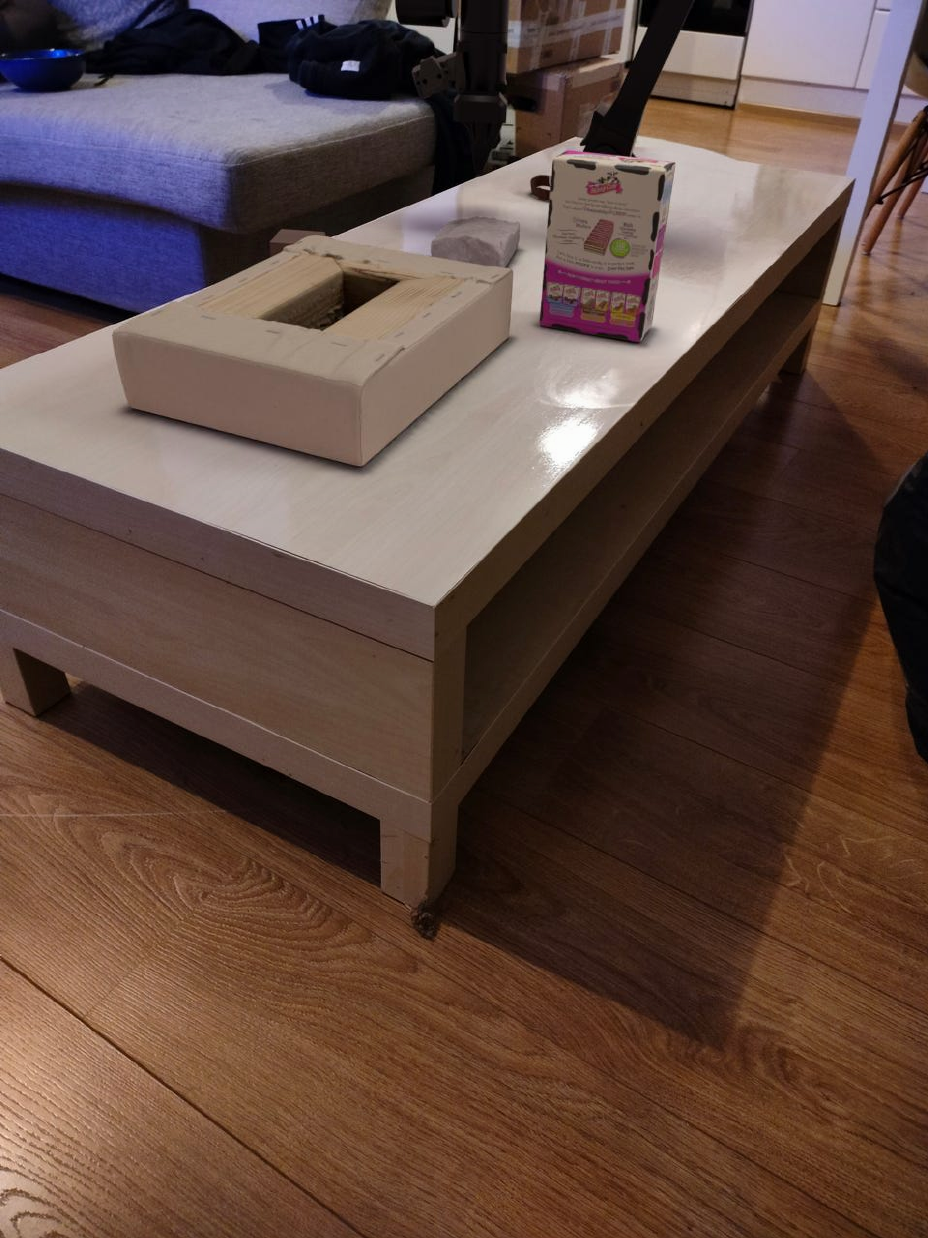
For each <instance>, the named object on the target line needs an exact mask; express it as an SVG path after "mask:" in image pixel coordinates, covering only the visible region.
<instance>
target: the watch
mask: <svg viewBox="0 0 928 1238" xmlns="http://www.w3.org/2000/svg"><path fill="white" fill-rule="evenodd" d="M529 184H530V185H529V186H530V194H531V195H532V196H533V197H535V198H537V199H539V200H542V201H548V202H549V199H550V189H546V188H543V187H548V188H550V186H551V174H550V175H547V174H538V175H535V176H532V177H531V178H530V180H529Z"/></svg>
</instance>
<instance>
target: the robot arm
mask: <svg viewBox="0 0 928 1238" xmlns="http://www.w3.org/2000/svg"><path fill="white" fill-rule="evenodd" d="M510 1H511V0H394V7H395V14H396V19H397V22H398V24H399V25H401V26H412V27H413V26H414V27H426V28H427V27H428V28H441V29H442V28H443V29H446V28H447V27H449V24H450V21H451V19H457V17H458V13H459V9H460V19H459V20H460V21H459V22H460V23H459V24H460V25H459V39H458V40H457V43H456V46H455V47H456V49H455V51H454V52H451V53H448V54H444V55H442V56H440V57H439V56H438V57H437V58H436V57H435V56H434V55H431V56H430V57H428V58H425V59H424V58H423V59H421V60H420V62H419V63H420V64H418V65H416V66H414V67H413V68H412V70H411V75H412V78H413V81H414V86H415V88H416V91H417V94H418V97H419V100H425V99H427V98H428V99H429V98H431V96H432V95H433V94H437V93H439V92H442V91H444V90H447V89H450V88H452V87H455V88H454V92H457V95H456V96H455V97H454V101H453V116H452V117H453V122H457V123H461V124H462V125H463V126H464V127H465V128H466V130H467V133H468V139H469V146H470V153H471V157H472V158H471V159H472V167H473V171H474V173H483V172H484V170H485V167H486V165H487V163H488V160H489V159H490V158H489V157H490V155H491V153H492V150H493V148H494V146H495V143H496V140H497V139H498V137H499V134H500V131H501V129H502V126H503V125H504V124H507V114H508V113H507V112H508V99H507V85H508V84H507V78H506V77H507V58H508V44H509V43H508V42H509V40H508V39H509V23H510V21H509V19H510V3H511V2H510ZM694 2H695V0H658V3H657V5H656V8H655V10H654V12H653V14H652V16H651V18H650V21H649V23H648V25H647V28H646V30H645V32H644V35H643V37H642V38H641V41H640V44H639V45H638V49H637V51H636V53H635V55H634V58H633V59H632V62H631V63H630V66H629V69H628V71H627V73H626V76H625V78H624V79H623V81H622V84H621V86H620V89H619V91H618V94H617V96H616V97H615V99H614V100H613V102H612V104H611V105H610V107H607V106H606V104H605V105H604V104H603V103H602V102H600V103H598V105H597V107H596V108H595V110H594V111H593V115H592V116H591V120H590V125H589V128H588V131H587V132H586V133H585V135H583V138H582V140H581V141H580V142H579V146H580V147H583V149H582V152H589V153H598V154H607V155H617V156H626V157H636V158H638V157H637V156H636V155H635V154H634V150H635V146H636V143H637V140H638V136H639V132H640V129H641V126H642V121H643V118H644V113H645V110H646V106H647V104H648V103H649V102H648V101H649V99H650V97H651V95H652V93H653V91H654V89H655V87H656V85H657V82H658V81H659V78H660V76H661V74H662V71H663V70H664V67H665V66H666V65H665V64H666V63H667V60H668V59H669V56H670V55H671V52H672V49H673V48H674V45H675V43H676V41H677V39H678V37H679V35H680V32H681V31H682V28H683V27H684V24H685V22H686V19H687V17H688V15H689V13H690V10H691V9H692V7H693V4H694Z"/></svg>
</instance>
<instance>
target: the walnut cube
mask: <svg viewBox="0 0 928 1238" xmlns="http://www.w3.org/2000/svg"><path fill="white" fill-rule="evenodd" d="M312 235H320V236H326V233H325V231H313V230H312V231H311V230H300V229H299V230H298V229H297V230H296V229H285V228H284V229H283V228H281V229H280V230H279V231H278V232H277V233H276V235H274V237H273V238H271V240H270V241H269V242H268V245H269V256H270V257H269V258H271V257H273V256H275V255H277V254H279V253H281V252H282V251H283V249H284V247H286V246H289V245H293V244H295V243H296V242H298V241H299V240H301V239H302V238H304V237H307V236H312Z"/></svg>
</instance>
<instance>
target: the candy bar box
mask: <svg viewBox="0 0 928 1238" xmlns="http://www.w3.org/2000/svg"><path fill="white" fill-rule="evenodd" d="M636 157H637V156H636ZM636 157H626V156H617V155H607V154H598V153H589V152H583V151H579V150H570V149H567V150H565V151H563V152H561V153H560V154H559V155H557V156H555V157H553V158H552V161H551V162H552V163H551V174H550V176H551V186H550V187H549V190H550V199H549V201H548V213H547V214H548V215H547V227H546V237H545V249H544V250H545V251H544V265H543V274H542V275H543V277H542V289H541V299H540V300H541V301H540V311H539V325H540V326H542V327H546V328H552V329H557V330H563V331H569V332H575V333H581V334H587V335H594V336H598V337H603V338H610V339H616V340H622V341H628V342H633V343H641V342H642V341H644V338H645V337H646V335H647V334H648V333H649V332H650V331H651V329H652V325H653V320H654V314H655V306H656V299H657V293H658V286H659V278H660V271H661V265H662V258H663V251H664V244H665V237H666V231H667V223H668V218H669V212H670V204H671V196H672V190H673V184H674V183H673V182H674V178H675V169H676V162H675V161H668V160H660V159H651V158H644V157H637V158H636Z"/></svg>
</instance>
